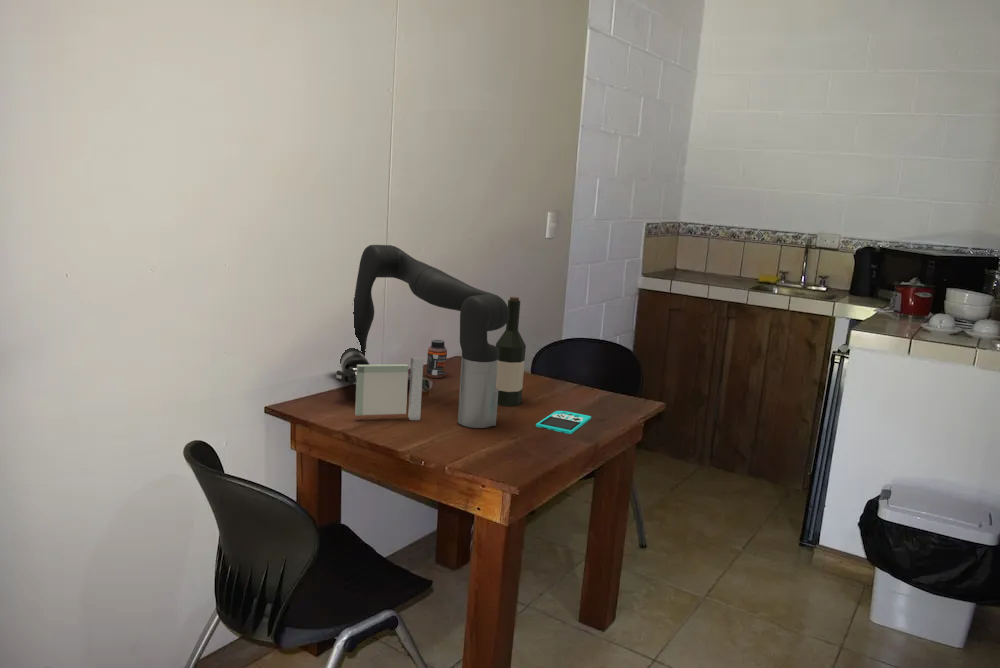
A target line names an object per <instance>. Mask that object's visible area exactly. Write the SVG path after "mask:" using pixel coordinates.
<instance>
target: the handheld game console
mask: <svg viewBox="0 0 1000 668" xmlns="http://www.w3.org/2000/svg"><path fill="white" fill-rule="evenodd" d="M591 419H592V416H591V415H587V414H581V413H577V412H571V411H568V410H567V411H565V410H555V411H553V412H552V413H551V414H549V415H548V416H545V418H543V419H542V420H540V421H538V422H537V423H536V424H535V427H537V428H541V429H545V430H549V431H554V432H559V433H563V434H569V435H572V434H573V433H574V432H576V431H577V430H578V429H579V428H581V427H582V426H584V425H585V424H587V422H590V421H591Z"/></svg>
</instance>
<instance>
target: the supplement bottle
mask: <svg viewBox="0 0 1000 668" xmlns="http://www.w3.org/2000/svg"><path fill="white" fill-rule="evenodd" d="M447 356H448V349H447V348H446V346H445V340H442V339H432V340H431V344H430V346H429V347H428V349H427V357H426V359H427V361H426V376H427V377H429V378H430V379H431V378H432V379H443V378H445V377H446V373H447V358H448V357H447Z"/></svg>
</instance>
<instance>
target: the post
mask: <svg viewBox="0 0 1000 668" xmlns="http://www.w3.org/2000/svg"><path fill="white" fill-rule="evenodd" d="M409 373H410V375H409V392H408V393H409V394H408V396H409V397H408V415H407V417H408V419H409V420H410V421H420V420H421V413H422V412H421V411H422V393H423V373H424V359H423V357H422V356H411V357H410V372H409Z"/></svg>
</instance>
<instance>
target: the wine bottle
mask: <svg viewBox="0 0 1000 668" xmlns="http://www.w3.org/2000/svg"><path fill="white" fill-rule="evenodd" d="M507 306H508V309H509V320H508V322H507V323H506V324H505V330H504V332H503V333H502V334H501V336H500V338H499V339H498V340H497V341H496V343H495V346H496V347H497V348H498V351H499V353H498V367H497V381H496V388H497V389H498V403H497V406H502V407H503V406H504V407H516V406H517V407H518V406H519V405H520V404H522V398H523V397H522V395H523V384H524V371H525V370H524V369H525V361H526V360H525V358H526V343H525V341H524V340H523V337H522V336H521V334H520V332H519V324H520V323H519V322H520V313H521V312H520V311H521V300H520V297H518V296H510V297H509V299H508V300H507Z"/></svg>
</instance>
